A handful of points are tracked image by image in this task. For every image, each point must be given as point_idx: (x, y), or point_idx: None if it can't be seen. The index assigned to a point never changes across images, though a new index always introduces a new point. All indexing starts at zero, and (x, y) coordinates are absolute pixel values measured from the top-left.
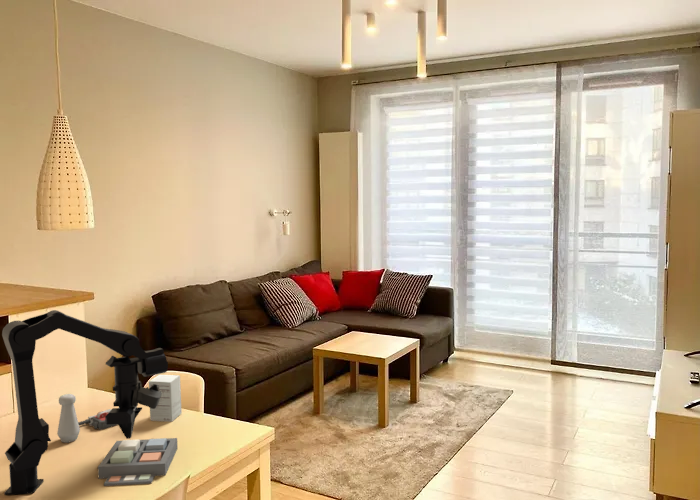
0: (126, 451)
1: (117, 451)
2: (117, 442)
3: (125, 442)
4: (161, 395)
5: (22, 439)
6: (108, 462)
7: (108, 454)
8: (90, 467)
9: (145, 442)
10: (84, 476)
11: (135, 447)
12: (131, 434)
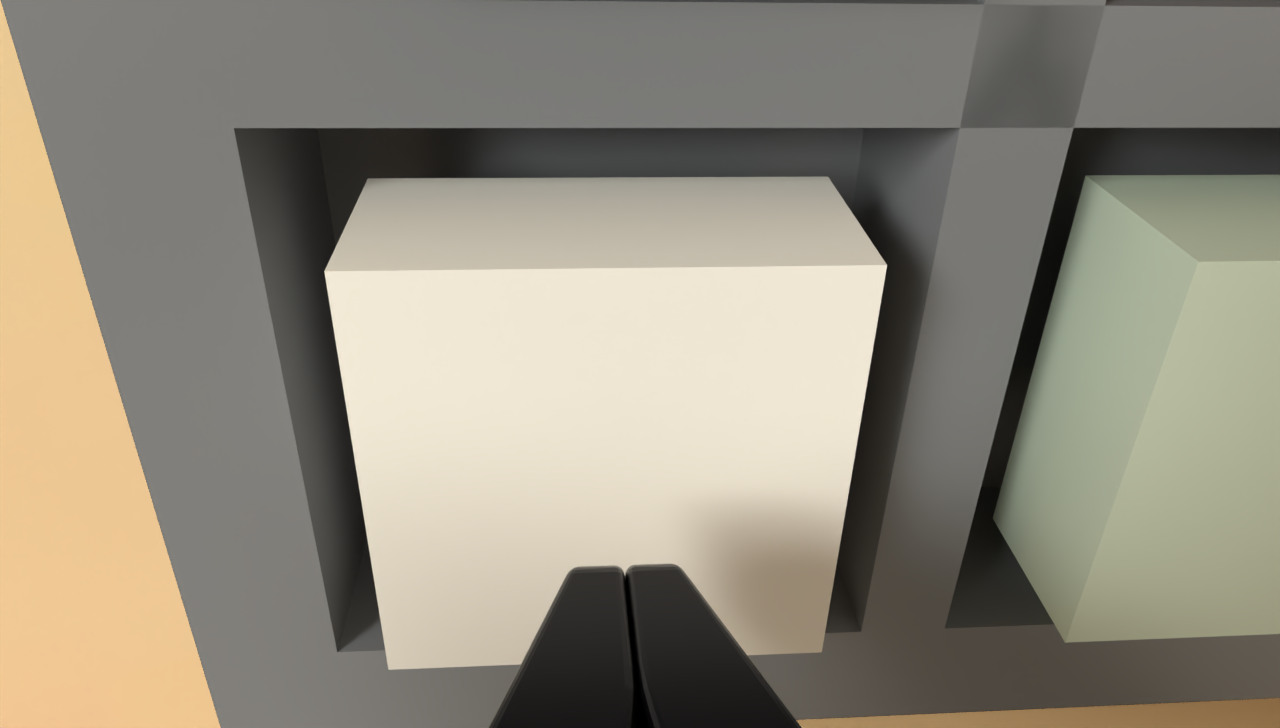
0: (1207, 411)
1: (1114, 599)
2: (324, 710)
3: (552, 582)
4: None
5: None
6: None
7: (959, 689)
8: (864, 723)
9: (297, 55)
10: (1145, 704)
11: (877, 252)
12: (617, 630)
